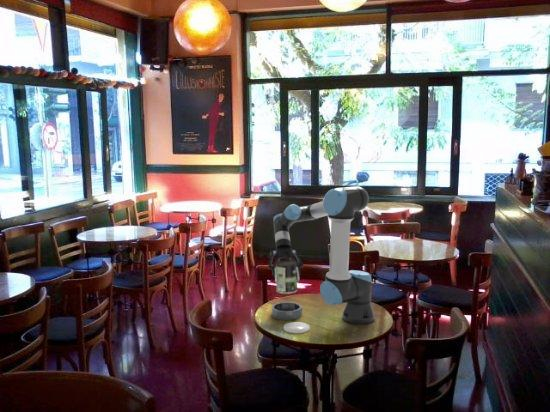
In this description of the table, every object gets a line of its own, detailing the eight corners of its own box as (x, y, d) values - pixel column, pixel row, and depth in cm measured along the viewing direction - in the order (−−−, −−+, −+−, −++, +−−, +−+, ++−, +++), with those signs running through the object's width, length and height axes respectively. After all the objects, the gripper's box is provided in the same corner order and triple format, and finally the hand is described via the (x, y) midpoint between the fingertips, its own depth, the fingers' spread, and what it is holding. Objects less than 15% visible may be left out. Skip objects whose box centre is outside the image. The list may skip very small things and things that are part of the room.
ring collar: (305, 311, 265) (305, 304, 264) (295, 321, 252) (295, 313, 251) (279, 308, 270) (279, 300, 270) (267, 317, 257) (267, 309, 257)
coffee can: (298, 288, 263) (298, 260, 261) (295, 294, 253) (295, 265, 251) (278, 287, 265) (277, 259, 263) (274, 293, 255) (273, 265, 253)
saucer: (313, 325, 246) (313, 324, 246) (304, 335, 235) (304, 333, 235) (289, 322, 251) (289, 320, 251) (279, 331, 240) (279, 329, 240)
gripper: (304, 244, 273) (309, 283, 260) (260, 246, 270) (263, 285, 257) (305, 236, 267) (311, 275, 254) (261, 238, 264) (264, 277, 251)
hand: (287, 280), depth 255 cm, fingers closed on coffee can, 10 cm apart
